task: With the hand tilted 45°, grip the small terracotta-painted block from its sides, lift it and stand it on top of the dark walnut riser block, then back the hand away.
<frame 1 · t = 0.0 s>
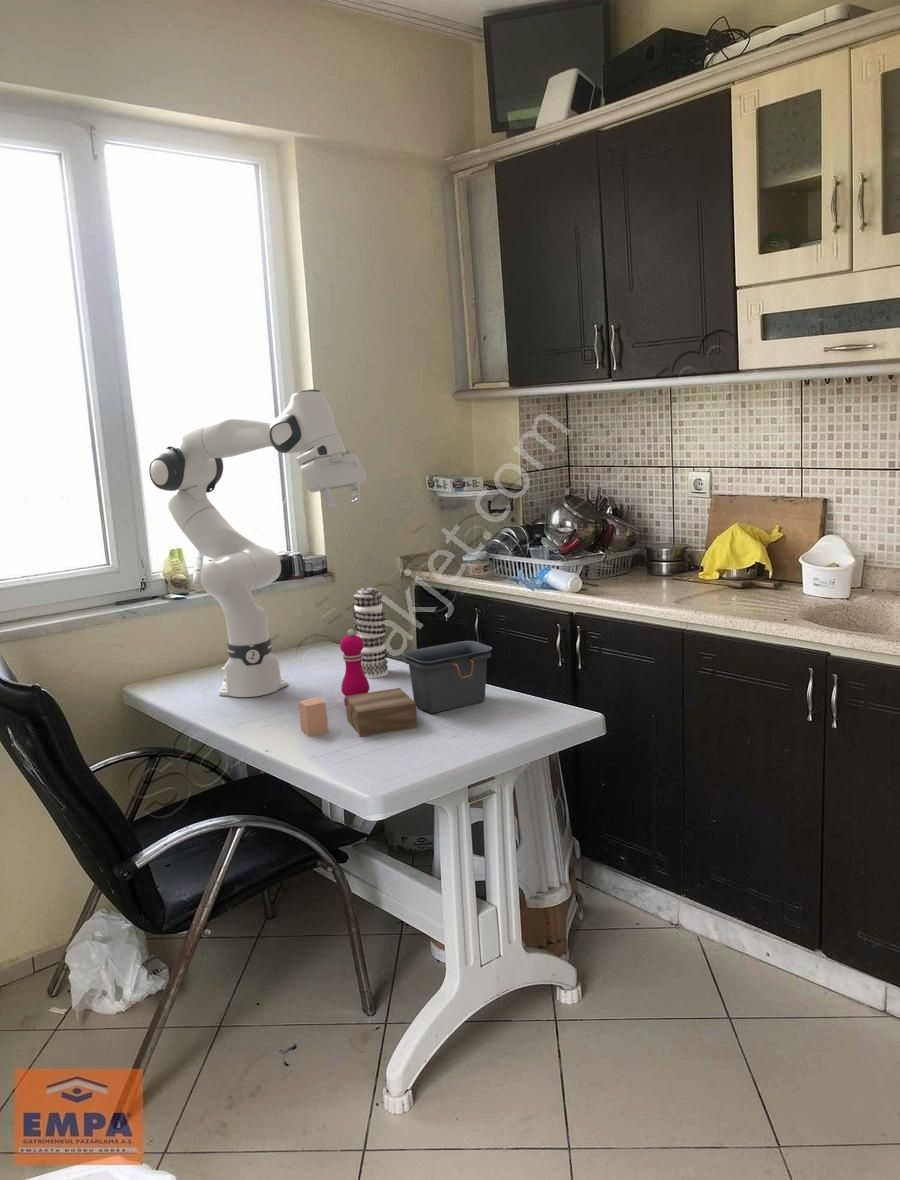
hand: (345, 504, 236), 52 cm above the table, tool tilted 20°, fingers open, 8 cm apart
storage bin: (452, 706, 242), on the table
decorative candle: (373, 674, 275), on the table
pepper mill: (356, 705, 247), on the table
terracotta block: (314, 731, 228), on the table
walnut riser: (381, 723, 231), on the table
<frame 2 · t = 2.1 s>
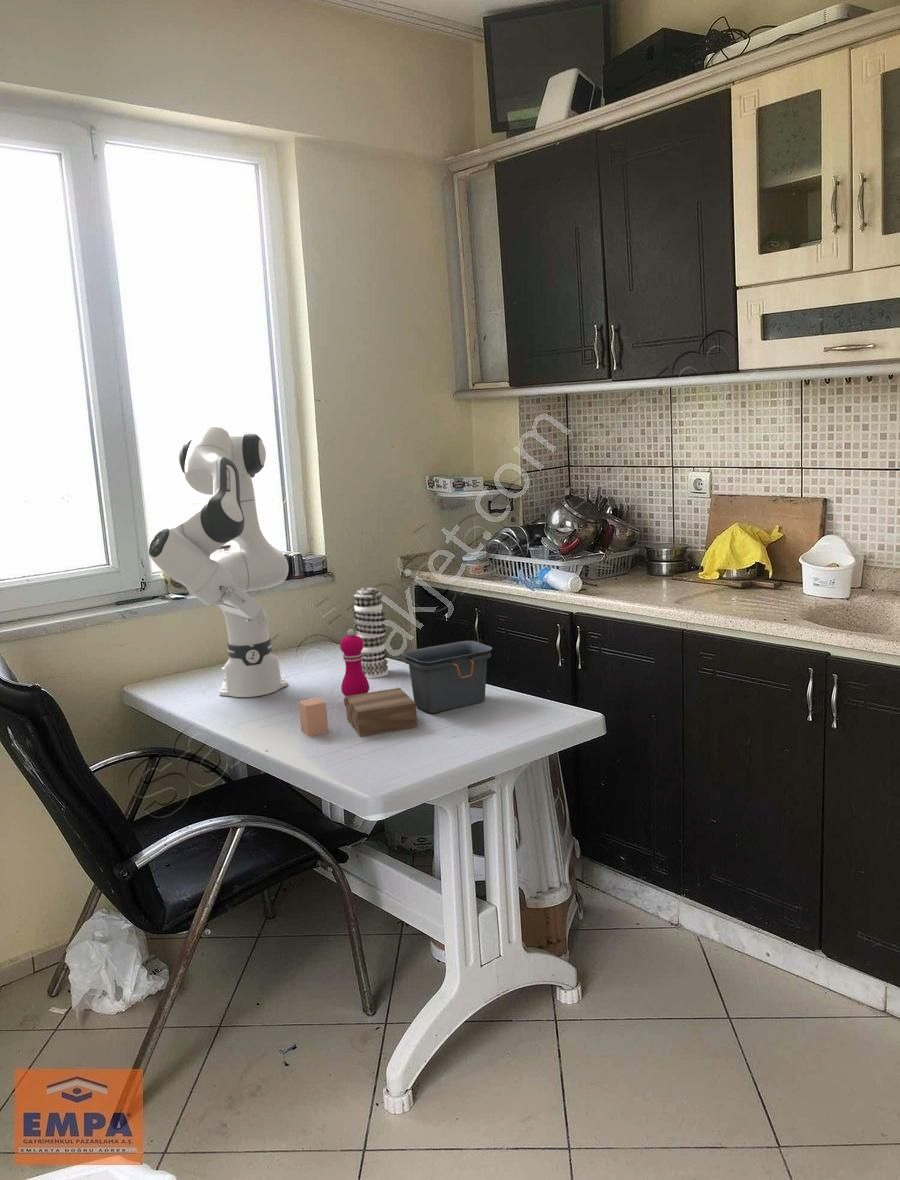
hand: (259, 622, 217), 29 cm above the table, tool tilted 45°, fingers open, 8 cm apart
nothing on the table moved.
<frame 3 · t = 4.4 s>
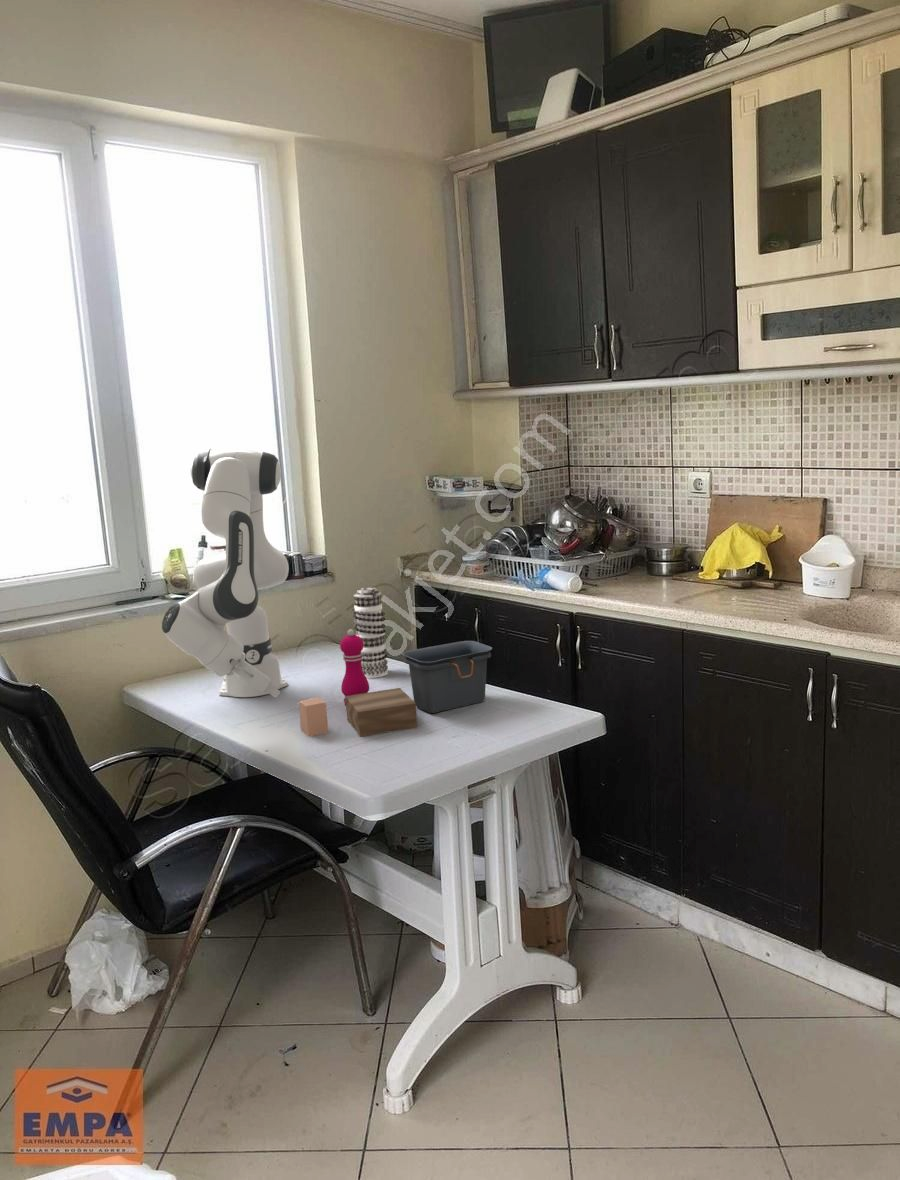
hand: (271, 689, 221), 12 cm above the table, tool tilted 45°, fingers open, 8 cm apart
nothing on the table moved.
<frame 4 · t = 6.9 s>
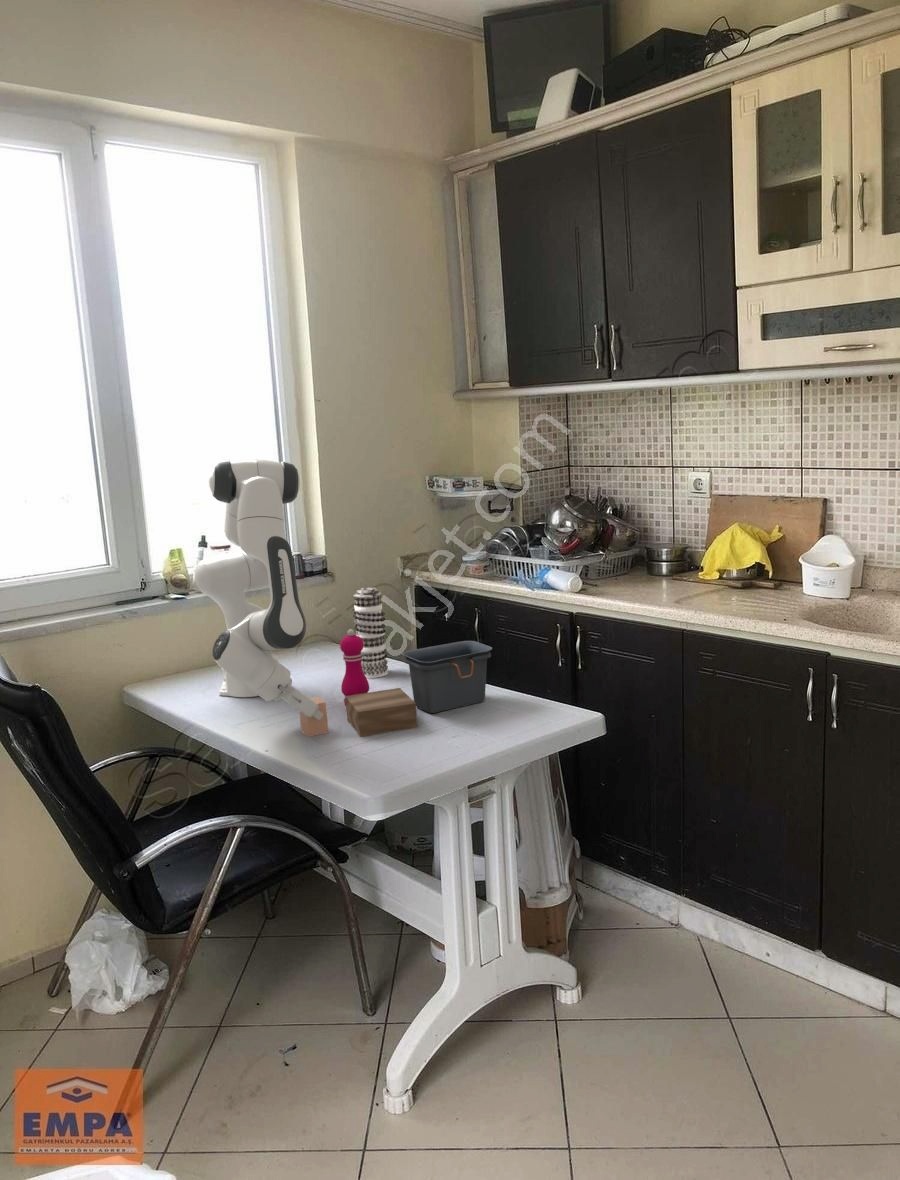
hand: (315, 713, 227), 4 cm above the table, tool tilted 45°, fingers closed on terracotta block, 5 cm apart
terracotta block: (314, 731, 228), on the table, touching gripper
everything else where it was.
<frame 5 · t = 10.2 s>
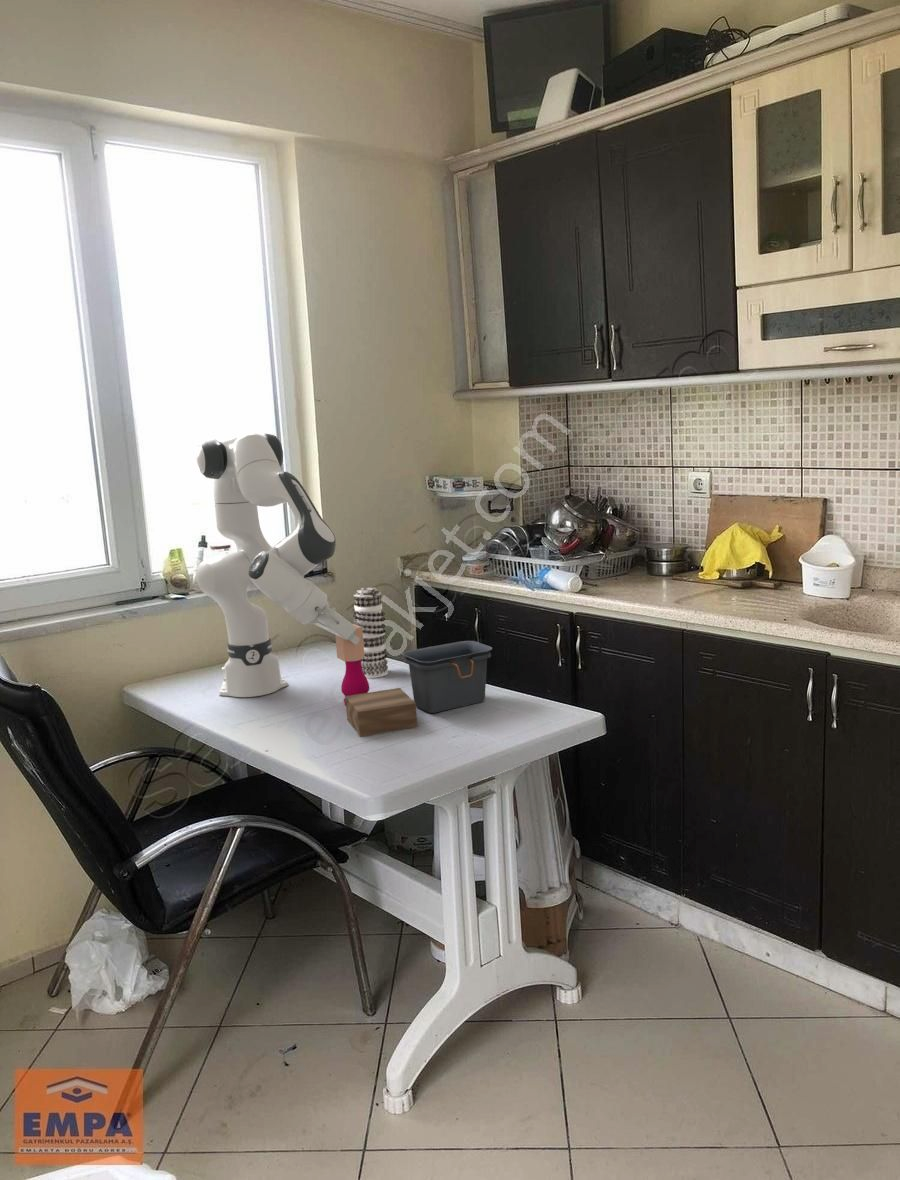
hand: (352, 639, 226), 22 cm above the table, tool tilted 45°, fingers closed on terracotta block, 5 cm apart
terracotta block: (350, 657, 226), point 17 cm above the table, touching gripper
everything else where it was.
when the fingers open (12 cm above the table, at t = 13.4 s): terracotta block drops 1 cm, resting on walnut riser.
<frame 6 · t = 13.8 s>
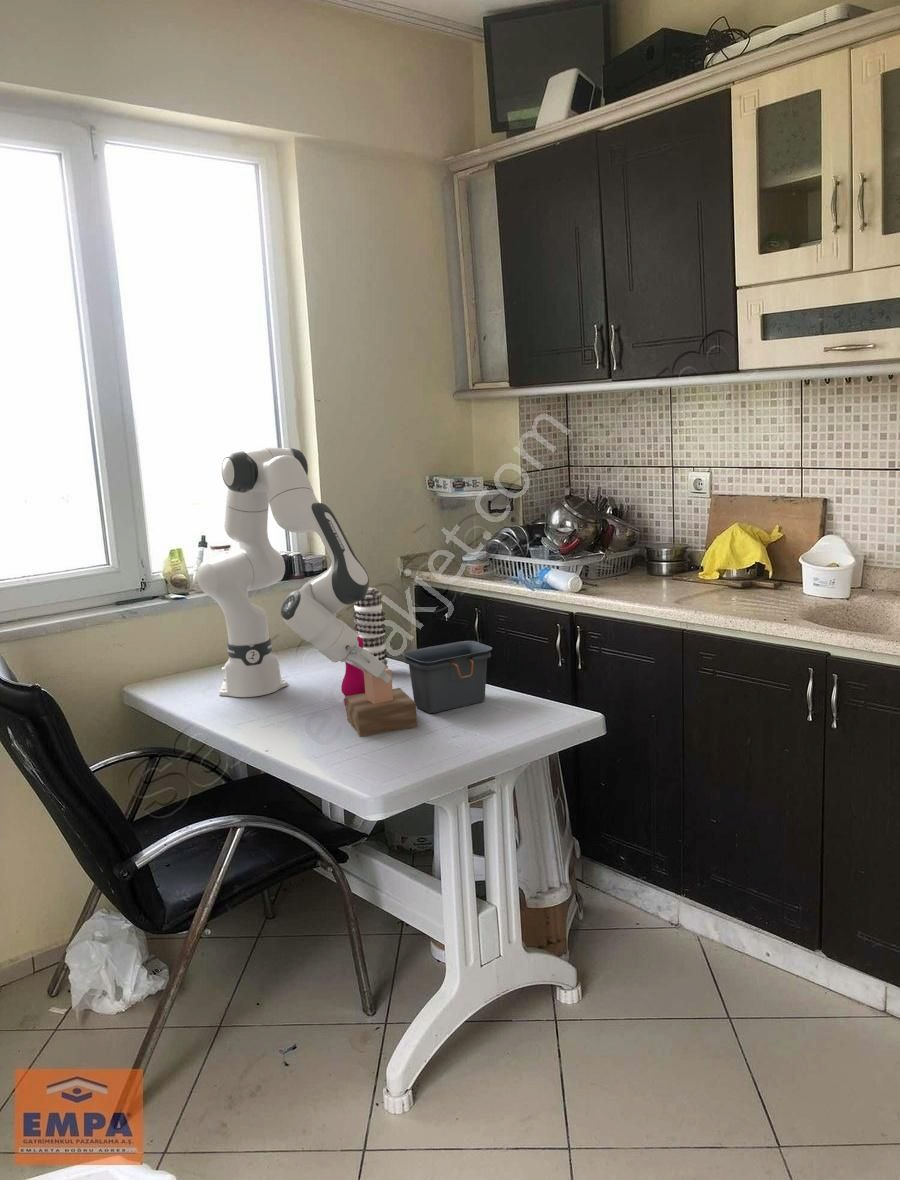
hand: (380, 675, 229), 12 cm above the table, tool tilted 45°, fingers open, 8 cm apart
terracotta block: (379, 699, 230), point 6 cm above the table, touching walnut riser
everything else where it was.
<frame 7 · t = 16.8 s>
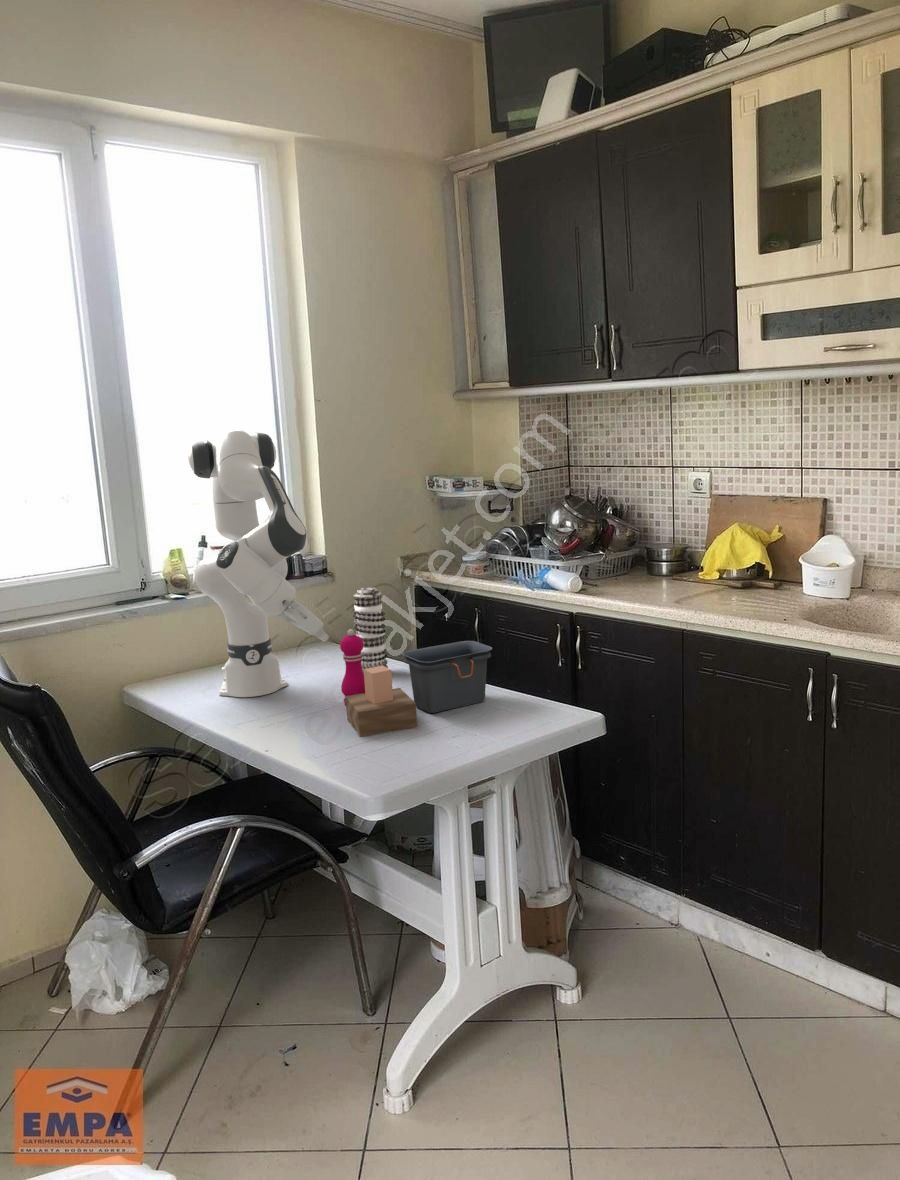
hand: (318, 634, 222), 24 cm above the table, tool tilted 40°, fingers open, 8 cm apart
nothing on the table moved.
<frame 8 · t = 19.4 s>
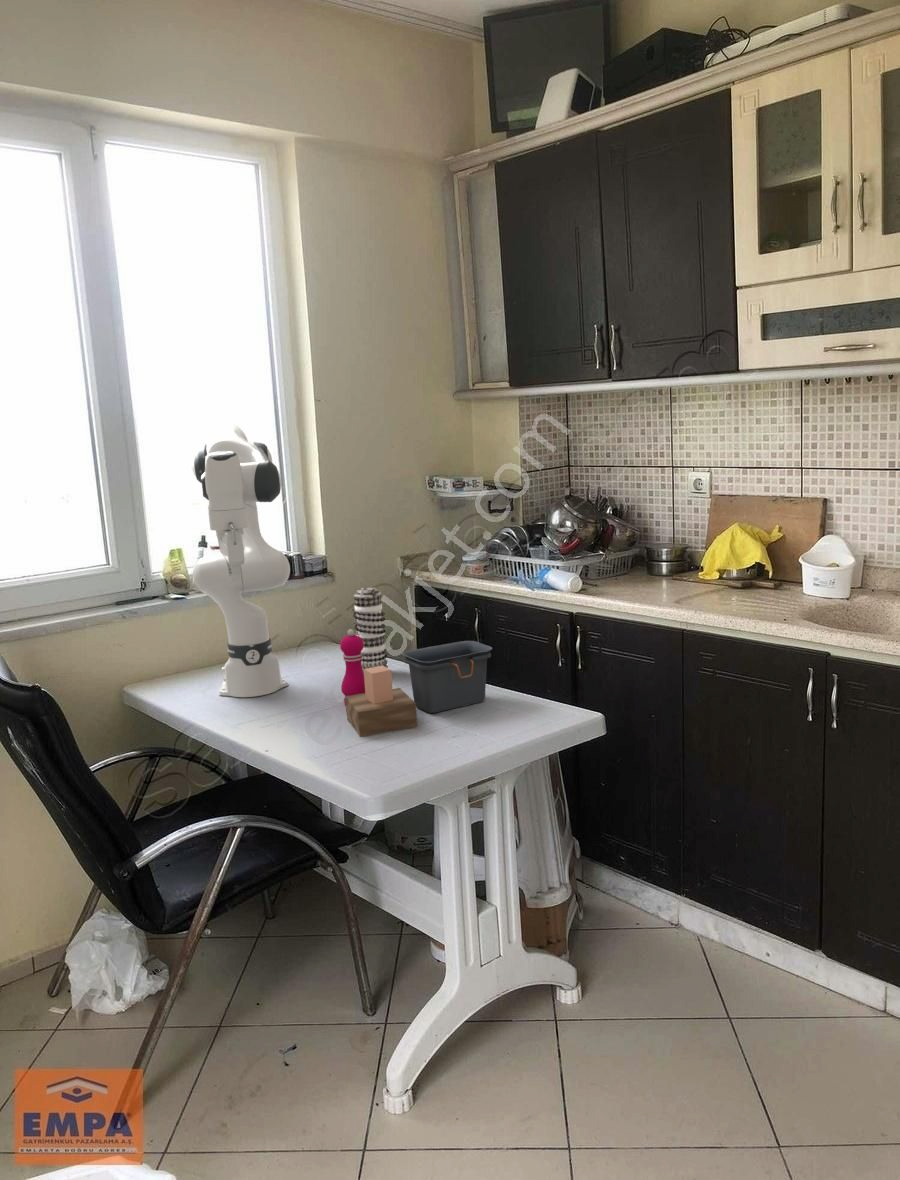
hand: (234, 578, 227), 37 cm above the table, tool pointing down, fingers open, 8 cm apart
nothing on the table moved.
at the end: terracotta block inside the target area on the walnut riser (0.1 cm from its centre), point 6.0 cm above the walnut riser's base; terracotta block tilted 0°; the gripper is holding nothing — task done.
